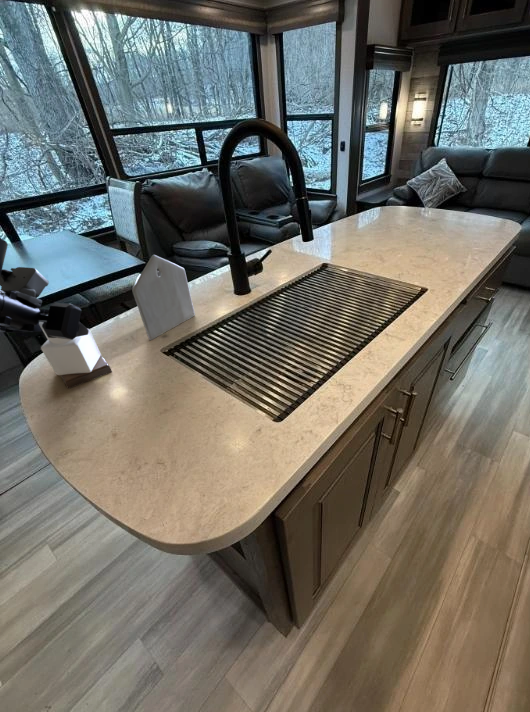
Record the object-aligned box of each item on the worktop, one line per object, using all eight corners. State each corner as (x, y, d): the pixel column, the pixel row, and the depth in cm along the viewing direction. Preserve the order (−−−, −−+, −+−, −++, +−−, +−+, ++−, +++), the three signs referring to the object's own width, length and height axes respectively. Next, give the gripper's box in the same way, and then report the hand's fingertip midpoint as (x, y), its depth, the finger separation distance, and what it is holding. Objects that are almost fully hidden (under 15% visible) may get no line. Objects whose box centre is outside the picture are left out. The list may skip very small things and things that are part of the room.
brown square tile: (68, 388, 70) (64, 381, 69) (58, 370, 76) (54, 363, 75) (112, 371, 75) (108, 364, 74) (99, 355, 80) (96, 348, 79)
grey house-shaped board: (176, 309, 100) (158, 242, 88) (195, 315, 96) (179, 246, 84) (130, 333, 89) (102, 259, 77) (150, 340, 86) (124, 265, 73)
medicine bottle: (102, 354, 77) (79, 307, 70) (91, 372, 71) (66, 323, 64) (69, 357, 76) (43, 309, 69) (56, 376, 71) (26, 326, 63)
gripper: (47, 261, 54) (115, 297, 69) (-44, 254, 57) (39, 290, 72) (32, 327, 53) (104, 348, 68) (-60, 317, 56) (28, 340, 71)
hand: (68, 330), depth 70 cm, fingers open, 9 cm apart
